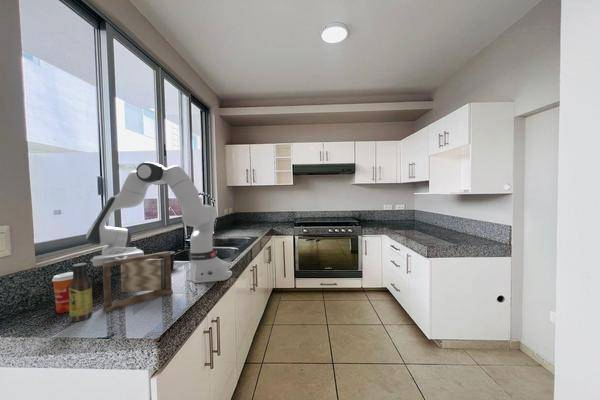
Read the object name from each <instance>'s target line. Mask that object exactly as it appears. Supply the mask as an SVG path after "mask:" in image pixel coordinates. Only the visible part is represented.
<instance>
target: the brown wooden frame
mask: <svg viewBox="0 0 600 400" xmlns="http://www.w3.org/2000/svg"><path fill="white" fill-rule="evenodd" d="M170 252H171V251H168V250H166V251H161V252H156V253H150V254H144V255H142V256H137V257H131V258H125V259H119V260H113V261H107V262H103V265H102V282H103V283H102V286H103V287H102V288H103V289H102V290H103V304H102V305H103V309H104V311H105V312H106V313H108V312H111V311H115V310H118V309H122V308H126V307H129V306H133V305H136V304H140V303H143V302H147V301H149V300H153V299H157V298H160V297H163V296H166V295H171V294H173V293H174V291H173V289H172V270H171V263H170ZM163 256H164V269H165V290H161V291H147V292H146V293H141V294H138V295H134V296H131V297H129V296H128V297H126V298H122V299H119V300H115V301H112V284H111V283H112V280H111V275H112V274H111V267H112V266H118V264H119V265H121V264H124V263H130V262H135V261H141V260H146V259H152V258H153V259H158V257H163Z"/></svg>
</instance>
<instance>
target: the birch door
mask: <svg viewBox="0 0 600 400" xmlns="http://www.w3.org/2000/svg"><path fill="white" fill-rule="evenodd" d="M120 282H121V283H120V284H121V293H122V292H123V293H125V292H126V293H129V292H152V291H161V290H165V269H164V259H159V258H153V259H146V260H141V261H135V262H130V263H124V264H120Z"/></svg>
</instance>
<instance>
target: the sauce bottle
mask: <svg viewBox="0 0 600 400" xmlns="http://www.w3.org/2000/svg"><path fill="white" fill-rule="evenodd" d="M87 269H88V264H87V262H80V263H75V264H73V265H72V266H71V270H72V272H73V279H72V281H71V282H70V284H69V316H70V317H69V319H70V321H72V322H81V321H84V320H88V319H89V318H91V317H92V315H93V287H92V279H90V277H89V276H88V273H87Z"/></svg>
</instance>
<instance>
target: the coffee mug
mask: <svg viewBox="0 0 600 400" xmlns="http://www.w3.org/2000/svg"><path fill="white" fill-rule="evenodd" d="M169 252H170V263H171V271H173V270H174V267H175V266H174V265H175V255H176V252H175V251H169ZM152 259H154V258H152ZM157 259H164V256H163V257H157Z"/></svg>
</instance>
